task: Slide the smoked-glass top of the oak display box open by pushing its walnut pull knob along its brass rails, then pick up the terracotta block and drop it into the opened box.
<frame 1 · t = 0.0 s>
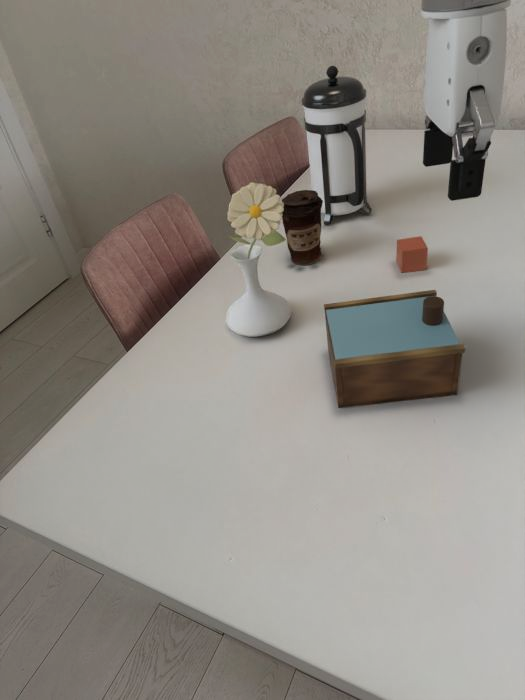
hand: (449, 179, 55), 27 cm above the table, tool pointing down, fingers open, 9 cm apart
coffee cup: (306, 259, 101), on the table
glass top: (388, 318, 66), point 10 cm above the table, slide at 0.0 cm
display box: (387, 372, 72), on the table
flower in vase: (264, 323, 86), on the table
coffee press: (343, 213, 114), on the table
block: (411, 265, 93), on the table
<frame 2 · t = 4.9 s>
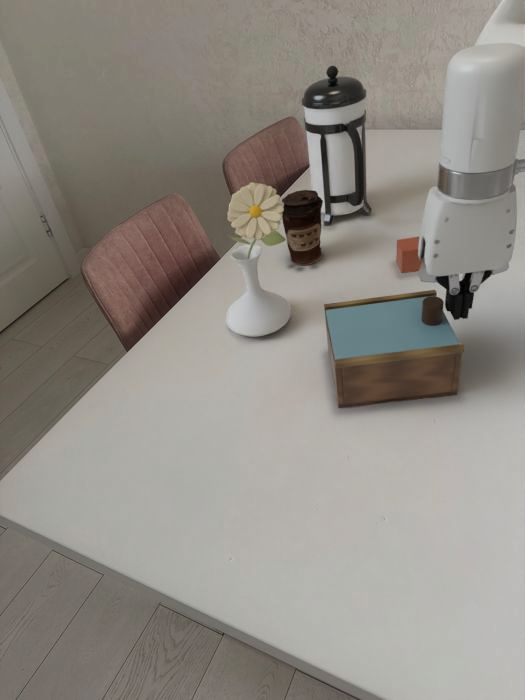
hand: (457, 313, 66), 9 cm above the table, tool pointing down, fingers closed
glass top: (387, 318, 66), point 10 cm above the table, slide at 0.1 cm, touching gripper
everything else where it was.
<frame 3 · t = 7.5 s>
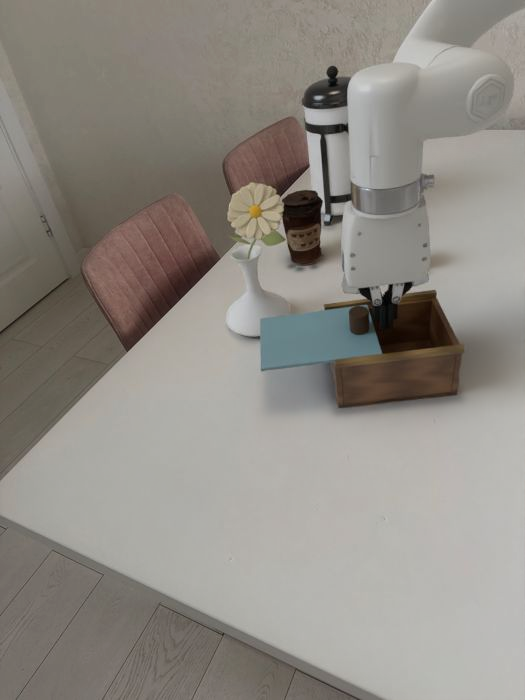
hand: (384, 323, 67), 9 cm above the table, tool pointing down, fingers closed
glass top: (315, 327, 67), point 10 cm above the table, slide at 9.7 cm, touching gripper
everything else where it was.
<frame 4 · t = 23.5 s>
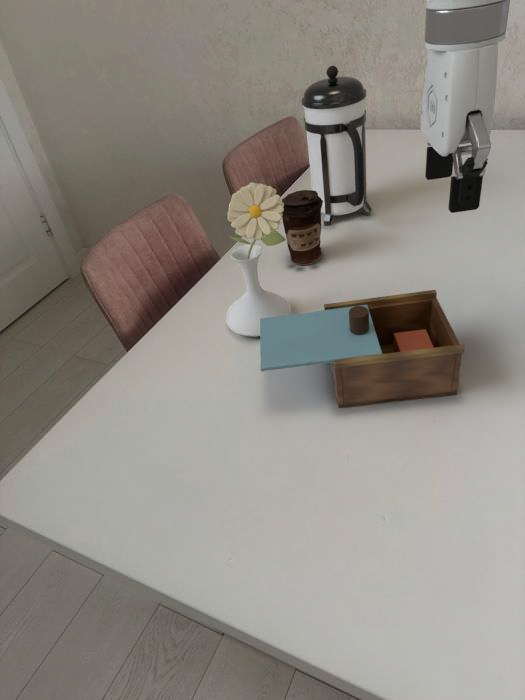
hand: (450, 192, 59), 24 cm above the table, tool pointing down, fingers open, 9 cm apart
glass top: (315, 327, 67), point 10 cm above the table, slide at 9.7 cm
block: (412, 364, 72), point 1 cm above the table, touching display box
everything else where it was.
at the end: glass top slide at 9.7 cm; block inside the target area on the display box (3.5 cm from its centre), point 0.8 cm above the display box's base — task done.
